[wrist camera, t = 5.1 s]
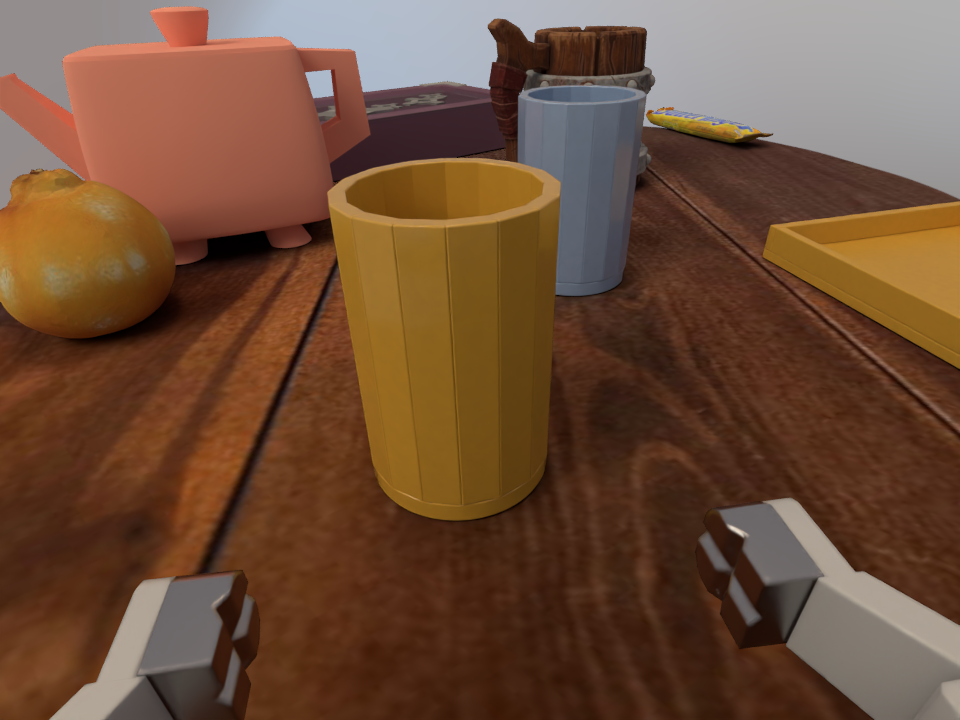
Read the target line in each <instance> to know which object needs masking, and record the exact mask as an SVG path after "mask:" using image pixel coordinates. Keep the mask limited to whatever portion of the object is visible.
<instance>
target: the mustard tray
mask: <svg viewBox="0 0 960 720" xmlns="http://www.w3.org/2000/svg"><path fill="white" fill-rule="evenodd" d="M763 257H764V258H765V259H767V260H769V261H771V262H772V263H774V264H776V265H778V266H779V267H781V268H783V269H785V270H786V271H788V272H790V273H792V274H793V275H795V276H797V277H799V278H800V279H802V280H804V281H806V282H808V283H809V284H811V285H813V286H815V287H816V288H818V289H820V290H822V291H823V292H825V293H827V294H829V295H830V296H832V297H834V298H836V299H837V300H839V301H841V302H843V303H844V304H846V305H848V306H850V307H851V308H853V309H855V310H857V311H858V312H860V313H862V314H864V315H865V316H867V317H869V318H871V319H872V320H874V321H876V322H878V323H879V324H881V325H883V326H885V327H887V328H888V329H890V330H892V331H894V332H895V333H897V334H899V335H901V336H902V337H904V338H906V339H908V340H909V341H911V342H913V343H915V344H916V345H918V346H920V347H922V348H923V349H925V350H927V351H929V352H930V353H932V354H934V355H936V356H937V357H939V358H941V359H943V360H944V361H946V362H948V363H950V364H951V365H953V366H955V367H957V368H958V369H960V201H959V202H951V203H943V204H935V205H927V206H919V207H911V208H904V209H896V210H888V211H880V212H872V213H864V214H856V215H848V216H840V217H832V218H824V219H816V220H808V221H800V222H792V223H784V224H776V225H771V226H770V229H769V233H768V237H767V241H766V245H765V249H764V252H763Z"/></svg>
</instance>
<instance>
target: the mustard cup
mask: <svg viewBox="0 0 960 720" xmlns="http://www.w3.org/2000/svg"><path fill="white" fill-rule="evenodd" d="M327 197H328V206H329V212H330V218H331V224H332V230H333V235H334V241H335V247H336V253H337V259H338V264H339V270H340V276H341V282H342V288H343V293H344V299H345V305H346V311H347V317H348V322H349V328H350V334H351V340H352V346H353V351H354V357H355V363H356V369H357V375H358V380H359V386H360V392H361V398H362V404H363V410H364V415H365V421H366V427H367V433H368V439H369V444H370V450H371V456H372V462H373V466H374V471H375V475H376V478H377V481H378V483H379V485H380V486H381V488H382V489H383V491H384V492H385V493H386V494H387V495H388V496H389V497H390V498H391V499H392V500H393V501H394V502H395V503H397V504H398V505H400V506H401V507H403V508H405V509H407V510H408V511H410V512H413V513H415V514H418V515H421V516H424V517H428V518H432V519H439V520H449V521H462V520H473V519H479V518H484V517H487V516H491V515H494V514H497V513H500V512H502V511H505V510H507V509H508V508H510V507H512V506H514V505H516V504H517V503H519V502H520V501H522V500H523V499H524V498H525V497H526V496H528V495H529V494H530V493H531V492H532V491H533V489H534V488H535V487H536V486H537V484H538V483H539V481H540V479H541V478H542V476H543V473H544V470H545V467H546V461H547V444H548V427H549V408H550V389H551V370H552V351H553V332H554V314H555V295H556V276H557V257H558V238H559V219H560V200H561V182H560V181H559V180H557V179H556V178H555V177H553V176H552V175H551V174H549V173H548V172H546V171H544V170H541V169H538V168H534V167H531V166H528V165H524V164H521V163H516V162H509V161H501V160H492V159H482V158H438V159H426V160H415V161H407V162H400V163H395V164H390V165H385V166H380V167H375V168H372V169H368V170H365V171H363V172H360V173H357V174H355V175H352V176H349V177H346V178H344V179H342V180H341V181H340V182H339V183H337V184H336V185H335V186H334V187H332V188H331V189H330V190H329V191H328V192H327Z"/></svg>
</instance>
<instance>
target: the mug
mask: <svg viewBox="0 0 960 720" xmlns="http://www.w3.org/2000/svg"><path fill="white" fill-rule="evenodd" d="M488 29H489V31H490V32H491V34H492V35H493V37H494V39H495V40H496V42H497V53H498V58H497V61H496V62H492V69H491V74H490V81H489V86H490V87H491V89H490V96H491V100H492V101H491V104H492V107H493V111H494V113H495V114H496V119H497V122H498V126H499V131H500V132H502V134H503V138H505V146H506V159H507V160H508V161H510V162H516V163H518V96H519V93H520V92H522V90H523V88H524V91H526V90H529V89H533V88H540V87H547V86H561V85H608V86H620V87H628V88H634V89H637V90H641V91H643V92H644V93H645V94H646V95H647V94H648V93H649V91H650V90H651V87H652V86H653V85H654V83H655V77H654V76H653V75H652V71H651V69H649V68H647V67H645V66H644V62H645V49H646V36H647V31H646V29H645V28H641V27H627V26H586V27H585V29H584V30H581V28H580V27H562V28H549V29H541V30H538V31H537V32H536V33H535V42H534V43H533V42H530V41H528V40H527V38H526V37H525V36H524V34H523V33H522V31H521V30H520V28H518V27H517V26H515V25H514V24H512V23H511V22H509V21H507V20H505V19H494V20H493V21H492V22H491V23H490V24H489V25H488ZM650 162H651V156H650V155H649V154H648V148H647V147H646V146H645V145H644V144H643V143H642V142H641V144H640V153H639V161H638V169H637V177H636V185H637V184H638V183H639V181H640V174H641V173H643V172H644V171H645V169H646V167H647V165H648V164H649V163H650ZM636 185H635V186H636Z"/></svg>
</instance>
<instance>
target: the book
mask: <svg viewBox="0 0 960 720" xmlns="http://www.w3.org/2000/svg"><path fill="white" fill-rule="evenodd" d="M363 97H364V102H365V107H366V113H367V118H368V123H369V129H370V134H371V135H369V136H368V137H367V138H365V139H364V140H362V141H361V142H359V143H358V144H357V145H355V146H354V147H352V148H351V149H350V150H348V151H347V152H345V153H344V154H343V155H341V156H340V157H338V158H337V159H335V160H334V161H333V162H331V163H330V168H331V174H332V180H333V181H337V180H342V179H344V178H346V177H349V176H352V175H355V174H357V173H360V172H363V171H365V170H368V169H372V168H375V167H380V166H385V165H390V164H395V163H400V162H407V161H415V160H426V159H438V158H454V157H459V156H464V155H469V154H474V153H479V152H484V151H489V150H494V149H499V148H504V147H506V146H505V138H503V134H502V132H500V131H499V126H498V122H497V119H496V114H495V113H494V111H493V107H492V104H491V101H492V100H491V96H490V90H488V89H482V88H476V87H471V86H467V85H466V84H460V83H454V82H448V81H447V82H438V83H430V84H421V85H420V86H413V87H406V88H397V89H389V90H380V91H372V92H363ZM313 100H314V104H315V107H316V110H317V114H318V117H319V121H320V125H322V124H324V123H325V122H327V121H328V120H330V119H331V118H333V117H335V116H336V109H335V101H334V96H330V97H322V98H314V99H313Z"/></svg>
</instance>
